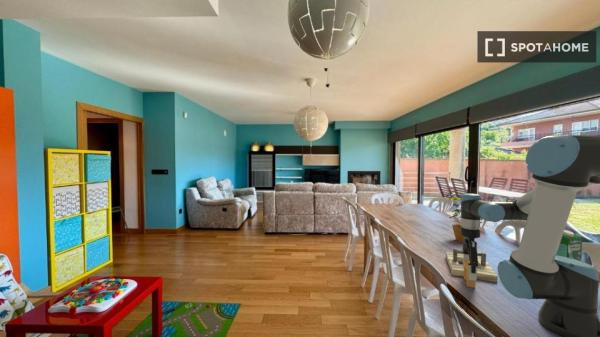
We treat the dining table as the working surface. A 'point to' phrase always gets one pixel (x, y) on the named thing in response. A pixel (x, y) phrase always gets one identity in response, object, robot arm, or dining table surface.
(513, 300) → the dining table surface
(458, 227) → the potted plant
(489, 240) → the dining table surface
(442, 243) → the dining table surface
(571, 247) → the milk carton
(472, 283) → the orange u-shaped bracket
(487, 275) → the beige open frame
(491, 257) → the dining table surface
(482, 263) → the gray u-shaped bracket
